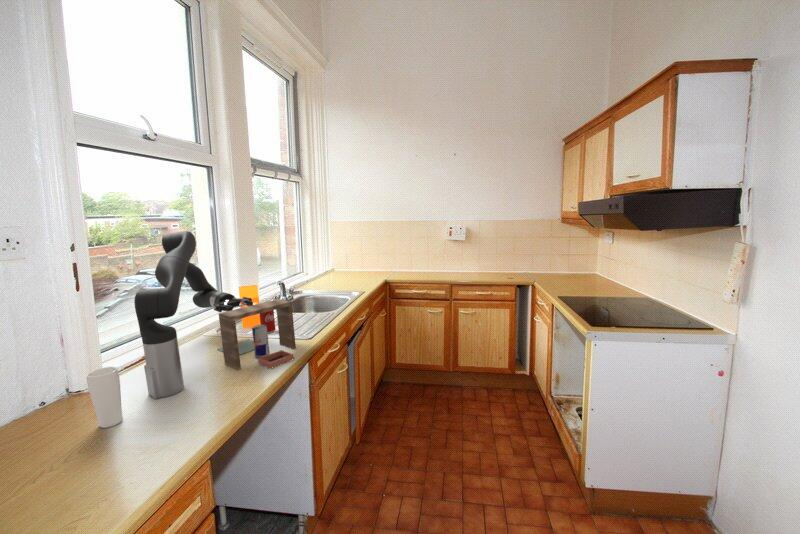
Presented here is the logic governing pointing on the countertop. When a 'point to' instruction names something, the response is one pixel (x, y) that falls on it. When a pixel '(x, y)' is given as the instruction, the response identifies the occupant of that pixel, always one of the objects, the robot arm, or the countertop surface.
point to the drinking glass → (106, 395)
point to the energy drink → (260, 341)
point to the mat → (243, 346)
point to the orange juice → (253, 293)
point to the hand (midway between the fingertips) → (242, 306)
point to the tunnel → (229, 317)
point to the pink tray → (275, 359)
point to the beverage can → (268, 320)
